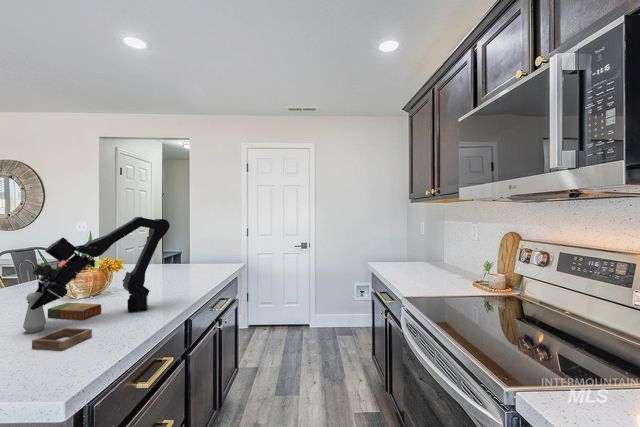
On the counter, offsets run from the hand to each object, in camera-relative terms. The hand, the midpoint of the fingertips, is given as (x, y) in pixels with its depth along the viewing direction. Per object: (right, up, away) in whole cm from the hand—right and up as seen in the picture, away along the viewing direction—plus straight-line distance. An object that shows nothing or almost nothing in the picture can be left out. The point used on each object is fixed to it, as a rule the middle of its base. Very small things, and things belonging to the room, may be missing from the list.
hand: (30, 306), depth 106 cm
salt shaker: (+1, -9, +1) cm, 9 cm away
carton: (+2, -9, +17) cm, 19 cm away
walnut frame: (+18, -9, -8) cm, 22 cm away
